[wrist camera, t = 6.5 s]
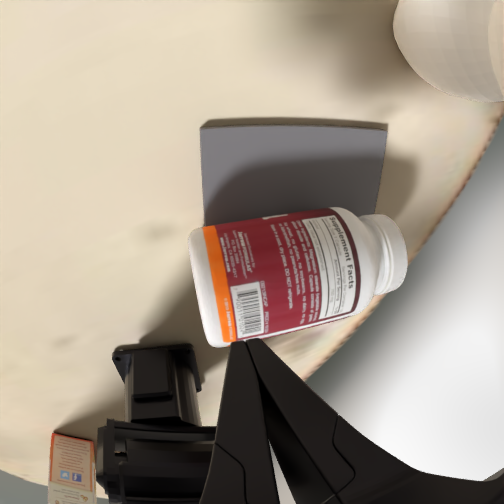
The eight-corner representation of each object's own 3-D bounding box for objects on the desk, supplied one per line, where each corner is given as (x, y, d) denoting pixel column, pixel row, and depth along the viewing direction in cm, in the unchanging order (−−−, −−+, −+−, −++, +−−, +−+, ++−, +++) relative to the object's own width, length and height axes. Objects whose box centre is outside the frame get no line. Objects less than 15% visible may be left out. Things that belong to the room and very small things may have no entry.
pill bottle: (192, 263, 20) (349, 236, 22) (210, 358, 17) (380, 316, 19) (181, 203, 14) (383, 179, 16) (203, 334, 12) (432, 277, 13)
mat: (358, 262, 23) (362, 267, 22) (209, 284, 20) (210, 290, 20) (381, 129, 17) (387, 131, 17) (199, 127, 15) (200, 129, 14)
